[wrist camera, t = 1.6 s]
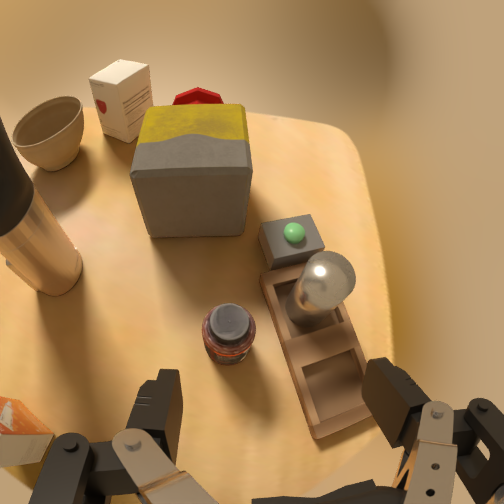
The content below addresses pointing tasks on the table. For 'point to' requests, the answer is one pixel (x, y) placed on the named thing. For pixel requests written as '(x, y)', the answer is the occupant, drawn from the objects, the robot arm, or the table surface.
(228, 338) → the supplement bottle
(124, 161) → the table surface
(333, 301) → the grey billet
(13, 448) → the small box
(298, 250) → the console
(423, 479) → the robot arm
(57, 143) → the planter bowl
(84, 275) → the table surface
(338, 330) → the brown wooden tray
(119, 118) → the supplement box
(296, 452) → the table surface
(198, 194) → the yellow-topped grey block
